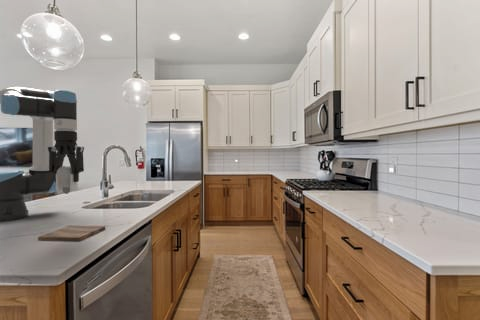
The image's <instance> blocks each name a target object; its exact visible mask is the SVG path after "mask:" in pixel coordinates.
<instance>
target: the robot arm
mask: <svg viewBox="0 0 480 320" xmlns="http://www.w3.org/2000/svg"><path fill="white" fill-rule="evenodd" d="M77 102H78V100H77V94H76V92H74V91H72V90H66V89H56V90H54V91H51V90H47V89H46V90H45V89H38V88H31V87H30V88H29V87H23V86H12V87H11V86H10V87H6V88H3V89H1V90H0V112H1V113H2V114H5V115H11V116H22V117H23V116H25V117H30V118H31V120H32V165H31V166H30V167H29V168H28V171H27V172H26V171H24V169H16V170H15V169H14V170H8V171H7V170H6V171H0V222H3V221H5V222H6V221H14V220H18V219H23V218H27V217H29V215H30V213H29V210H28V208H27V204H26V202H25V196H31V195H43V194H45V195H46V194H53V193H56V192H59V191H63V190H62V186H61V182H60V180H59V179H58V177H57V170H58V169H59V168H60V167H62V166H64V165H63V164H64V161H65V157H67V158H68V162H69V165H70V167H71V169H72V173H71V174H70V180H71V187H70V192H74V191H75V192H76V191H78V182H80V173H82V172H83V173H84V171H85V169H84V168H85V167H84V165H85V164H84V151H85V147H84V146H80V145H78V143H77V141H78V132H77V131H78V119H77V115H78V113H77V110H78V109H77V106H78V105H77ZM54 130H55V131H54ZM53 138H54V139H53ZM53 141H55V144H54V143H53ZM53 145H54V146H53Z"/></svg>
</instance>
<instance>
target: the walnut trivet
mask: <svg viewBox="0 0 480 320" xmlns="http://www.w3.org/2000/svg"><path fill="white" fill-rule="evenodd" d="M104 230H106V226H105V225H72V224H71V225H67V226H64V227H61V228H59V229H56V230H53V231H50V232H48V233H44V234H42V235H39V236H37V240H38V241H61V242H62V241H63V242H64V241H65V242H67V241H68V242H71V241H72V242H80V241H83V240H85V239H87V238H89V237H92V236H93V235H95V234H98V233H100V232H102V231H104Z"/></svg>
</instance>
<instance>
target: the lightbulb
mask: <svg viewBox="0 0 480 320" xmlns="http://www.w3.org/2000/svg"><path fill="white" fill-rule="evenodd" d="M71 173H72V169H71V166H69V165H62V167H60V168H59V169H58V170H57V177H58V179H59V180H60V182H61V186H62V190H61V191H62V193H63V194H64V195H65V194H69V193H70V192H71V180H70V174H71Z"/></svg>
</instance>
